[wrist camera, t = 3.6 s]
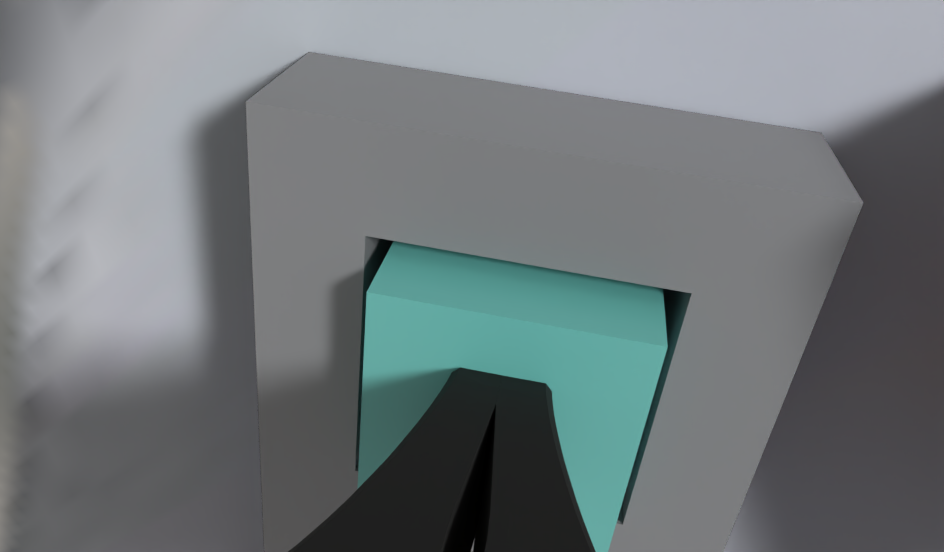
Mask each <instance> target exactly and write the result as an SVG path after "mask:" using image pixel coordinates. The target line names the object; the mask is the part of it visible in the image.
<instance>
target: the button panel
mask: <svg viewBox="0 0 944 552" xmlns="http://www.w3.org/2000/svg"><path fill="white" fill-rule="evenodd" d="M246 124H247V149H248V173H249V198H250V222H251V247H252V271H253V296H254V320H255V345H256V369H257V394H258V418H259V443H260V467H261V492H262V516H263V541H264V552H288V551H289V550H291V549H292V548H293V547H294V546H296V545H297V544H298V543H299V542H301V541H302V540H303V539H304V538H305V537H306V536H308V535H309V534H310V533H311V532H312V531H313V530H314V529H316V528H317V527H318V526H319V525H320V524H321V523H323V522H324V521H325V520H326V519H327V518H328V517H329V516H330V515H331V514H332V513H334V512H335V511H336V510H337V509H338V508H339V507H340V506H341V505H342V504H343V503H344V502H345V501H346V500H347V499H348V498H349V497H350V496H351V495H352V494H353V493H354V492H355V491H356V490H357V488H358V467H359V445H360V424H361V402H362V381H363V360H364V338H365V317H366V295H367V290H368V289H369V287H370V285H371V283H372V281H373V279H374V277H375V275H376V273H377V272H378V270H379V268H380V266H381V264H382V262H383V260H384V258H385V256H386V255H387V253H388V251H389V249H390V247H391V245H392V243H393V241H397V242H403V243H409V244H414V245H420V246H426V247H431V248H437V249H443V250H448V251H454V252H460V253H465V254H471V255H477V256H482V257H488V258H494V259H499V260H505V261H511V262H516V263H522V264H528V265H533V266H539V267H545V268H550V269H556V270H562V271H567V272H573V273H579V274H584V275H590V276H596V277H601V278H607V279H613V280H618V281H624V282H630V283H635V284H641V285H647V286H652V287H658V288H663V294H664V306H665V319H666V332H667V344H668V348H667V351H666V355H665V358H664V362H663V365H662V368H661V372H660V375H659V379H658V382H657V386H656V389H655V392H654V396H653V399H652V403H651V406H650V410H649V413H648V416H647V420H646V423H645V427H644V430H643V434H642V437H641V440H640V444H639V447H638V451H637V454H636V458H635V461H634V464H633V468H632V471H631V475H630V478H629V482H628V485H627V488H626V492H625V495H624V499H623V502H622V506H621V509H620V512H619V516H618V519H617V523H616V526H615V530H614V533H613V536H612V540H611V543H610V547H609V550H608V552H723V551H724V548H725V546H726V543H727V541H728V538H729V536H730V533H731V531H732V529H733V526H734V524H735V521H736V519H737V516H738V514H739V511H740V509H741V506H742V504H743V501H744V499H745V496H746V494H747V491H748V489H749V486H750V484H751V481H752V479H753V476H754V474H755V471H756V469H757V466H758V464H759V461H760V459H761V456H762V454H763V452H764V449H765V447H766V444H767V442H768V439H769V437H770V434H771V432H772V429H773V427H774V424H775V422H776V419H777V417H778V414H779V412H780V409H781V407H782V404H783V402H784V399H785V397H786V394H787V392H788V389H789V387H790V384H791V382H792V379H793V377H794V375H795V372H796V370H797V367H798V365H799V362H800V360H801V357H802V355H803V352H804V350H805V347H806V345H807V342H808V340H809V337H810V335H811V332H812V330H813V327H814V325H815V322H816V320H817V317H818V315H819V312H820V310H821V307H822V305H823V303H824V300H825V298H826V295H827V293H828V290H829V288H830V285H831V283H832V280H833V278H834V275H835V273H836V270H837V268H838V265H839V263H840V260H841V258H842V255H843V253H844V250H845V248H846V245H847V243H848V240H849V238H850V235H851V233H852V230H853V228H854V226H855V223H856V221H857V218H858V216H859V213H860V211H861V208H862V206H863V201H862V199H861V198H860V196H859V194H858V193H857V191H856V189H855V188H854V186H853V184H852V183H851V181H850V179H849V178H848V176H847V174H846V173H845V171H844V169H843V168H842V166H841V164H840V163H839V161H838V159H837V158H836V156H835V155H834V153H833V151H832V150H831V148H830V146H829V145H828V143H827V141H826V140H825V138H824V136H823V135H822V133H820V132H813V131H807V130H801V129H794V128H788V127H782V126H775V125H769V124H763V123H756V122H750V121H743V120H737V119H731V118H724V117H718V116H712V115H705V114H699V113H693V112H686V111H680V110H674V109H667V108H661V107H655V106H648V105H642V104H636V103H629V102H623V101H617V100H610V99H604V98H597V97H591V96H585V95H578V94H572V93H566V92H559V91H553V90H547V89H540V88H534V87H528V86H521V85H515V84H509V83H502V82H496V81H490V80H483V79H477V78H471V77H464V76H458V75H451V74H445V73H439V72H432V71H426V70H420V69H413V68H407V67H401V66H394V65H388V64H382V63H375V62H369V61H363V60H356V59H350V58H344V57H337V56H331V55H325V54H318V53H312V52H308V53H307V54H306V55H304V56H303V57H302V58H301V59H299V60H298V61H297V62H296V63H294V64H293V65H292V66H290V67H289V68H288V69H287V70H285V71H284V72H283V73H281V74H280V75H279V76H278V77H276V78H275V79H274V80H272V81H271V82H270V83H269V84H267V85H266V86H265V87H264V88H262V89H261V90H260V91H258V92H257V93H256V94H255V95H253V96H252V97H251V98H249V99H248V100H247V101H246ZM474 539H475V538H474ZM473 548H474V542H473V546H472V549H471V552H473Z"/></svg>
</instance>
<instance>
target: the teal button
mask: <svg viewBox="0 0 944 552" xmlns="http://www.w3.org/2000/svg"><path fill="white" fill-rule="evenodd" d="M667 348H668V344H667V332H666V319H665V306H664V294H663V288H658V287H652V286H647V285H641V284H635V283H630V282H624V281H618V280H613V279H607V278H601V277H596V276H590V275H584V274H579V273H573V272H567V271H562V270H556V269H550V268H545V267H539V266H533V265H528V264H522V263H516V262H511V261H505V260H499V259H494V258H488V257H482V256H477V255H471V254H465V253H460V252H454V251H448V250H443V249H437V248H431V247H426V246H420V245H414V244H409V243H403V242H397V241H393V243H392V245H391V247H390V249H389V251H388V253H387V255H386V256H385V258H384V260H383V262H382V264H381V266H380V268H379V270H378V272H377V273H376V275H375V277H374V279H373V281H372V283H371V285H370V287H369V289H368V290H367V295H366V317H365V338H364V360H363V381H362V402H361V424H360V445H359V467H358V488H359V487H360V486H361V485H362V484H363V483H364V482H365V481H366V480H367V479H368V478H369V477H370V476H371V475H372V474H373V473H374V472H375V471H376V470H377V468H378V467H379V466H380V465H381V464H382V463H383V462H384V461H385V460H386V459H387V458H388V457H389V456H390V454H391V453H392V452H393V451H394V450H395V449H396V447H397V446H398V445H399V444H400V443H401V442H402V440H403V439H404V438H405V437H406V436H407V434H408V433H409V432H410V431H411V430H412V428H413V427H414V426H415V425H416V424H417V422H418V421H419V420H420V418H421V417H422V416H423V415H424V413H425V412H426V411H427V409H428V408H429V407H430V405H431V404H432V403H433V401H434V400H435V398H436V397H437V395H438V394H439V392H440V391H441V389H442V388H443V386H444V385H445V383H446V382H447V380H448V378H449V376H450V374H451V373H452V372H453V371H455V370H457V369H458V368H460V367H461V368H466V369H471V370H477V371H482V372H487V373H493V374H498V375H503V376H509V377H514V378H519V379H525V380H531V381H536V382H542V383H546V384H547V385H548V387H549V388H550V389H551V391H552V400H553V410H554V416H555V422H556V427H557V432H558V436H559V441H560V445H561V449H562V453H563V457H564V461H565V465H566V468H567V471H568V474H569V478H570V481H571V484H572V487H573V491H574V494H575V497H576V500H577V503H578V506H579V509H580V512H581V515H582V517H583V520H584V523H585V526H586V528H587V531H588V533H589V536H590V538H591V541H592V544H593V546H594V549H595V551H596V552H608V550H609V547H610V543H611V540H612V536H613V533H614V530H615V526H616V523H617V519H618V516H619V512H620V509H621V506H622V502H623V499H624V495H625V492H626V488H627V485H628V482H629V478H630V475H631V471H632V468H633V464H634V461H635V458H636V454H637V451H638V447H639V444H640V440H641V437H642V434H643V430H644V427H645V423H646V420H647V416H648V413H649V410H650V406H651V403H652V399H653V396H654V392H655V389H656V386H657V382H658V379H659V375H660V372H661V368H662V365H663V362H664V358H665V355H666V351H667ZM503 376H502V377H503ZM358 488H357V489H358Z"/></svg>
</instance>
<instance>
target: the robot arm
mask: <svg viewBox="0 0 944 552" xmlns="http://www.w3.org/2000/svg"><path fill="white" fill-rule="evenodd" d="M502 376H503V375H498V374H493V373H487V372H482V371H477V370H471V369H466V368H461V367H460V368H458V369H457V370H455V371H453V372H452V373H451V374H450V376H449V378H448V380H447V382H446V383H445V385H444V386H443V388H442V389H441V391H440V392H439V394H438V395H437V397H436V398H435V400H434V401H433V403H432V404H431V405H430V407H429V408H428V409H427V411H426V412H425V413H424V415H423V416H422V417H421V418H420V420H419V421H418V422H417V424H416V425H415V426H414V427H413V428H412V430H411V431H410V432H409V433H408V434H407V436H406V437H405V438H404V439H403V440H402V442H401V443H400V444H399V445H398V446H397V447H396V449H395V450H394V451H393V452H392V453H391V454H390V456H389V457H388V458H387V459H386V460H385V461H384V462H383V463H382V464H381V465H380V466H379V467H378V468H377V470H376V471H375V472H374V473H373V474H372V475H371V476H370V477H369V478H368V479H367V480H366V481H365V482H364V483H363V484H362V485H361V486H360V487H359V488H358V489H357V490H356V491H355V492H354V493H353V494H352V495H351V496H350V497H349V498H348V499H347V500H346V501H345V502H344V503H343V504H342V505H341V506H340V507H339V508H338V509H337V510H336V511H335V512H334V513H332V514H331V515H330V516H329V517H328V518H327V519H326V520H325V521H324V522H323V523H321V524H320V525H319V526H318V527H317V528H316V529H314V530H313V531H312V532H311V533H310V534H309V535H308V536H306V537H305V538H304V539H303V540H302V541H301V542H299V543H298V544H297V545H296V546H294V547H293V548H292V549H291V550H289V551H288V552H471V549H472V546H473V542H474V548H473V552H596V551H595V549H594V546H593V544H592V541H591V538H590V536H589V533H588V531H587V528H586V526H585V523H584V520H583V517H582V515H581V512H580V509H579V506H578V503H577V500H576V497H575V494H574V491H573V487H572V484H571V481H570V478H569V474H568V471H567V468H566V465H565V461H564V457H563V453H562V449H561V445H560V441H559V436H558V432H557V427H556V422H555V416H554V410H553V400H552V391H551V389H550V388H549V387H548V385H547V384H546V383H542V382H536V381H531V380H525V379H519V378H514V377H509V376H503V377H502ZM474 538H475V539H474Z"/></svg>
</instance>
